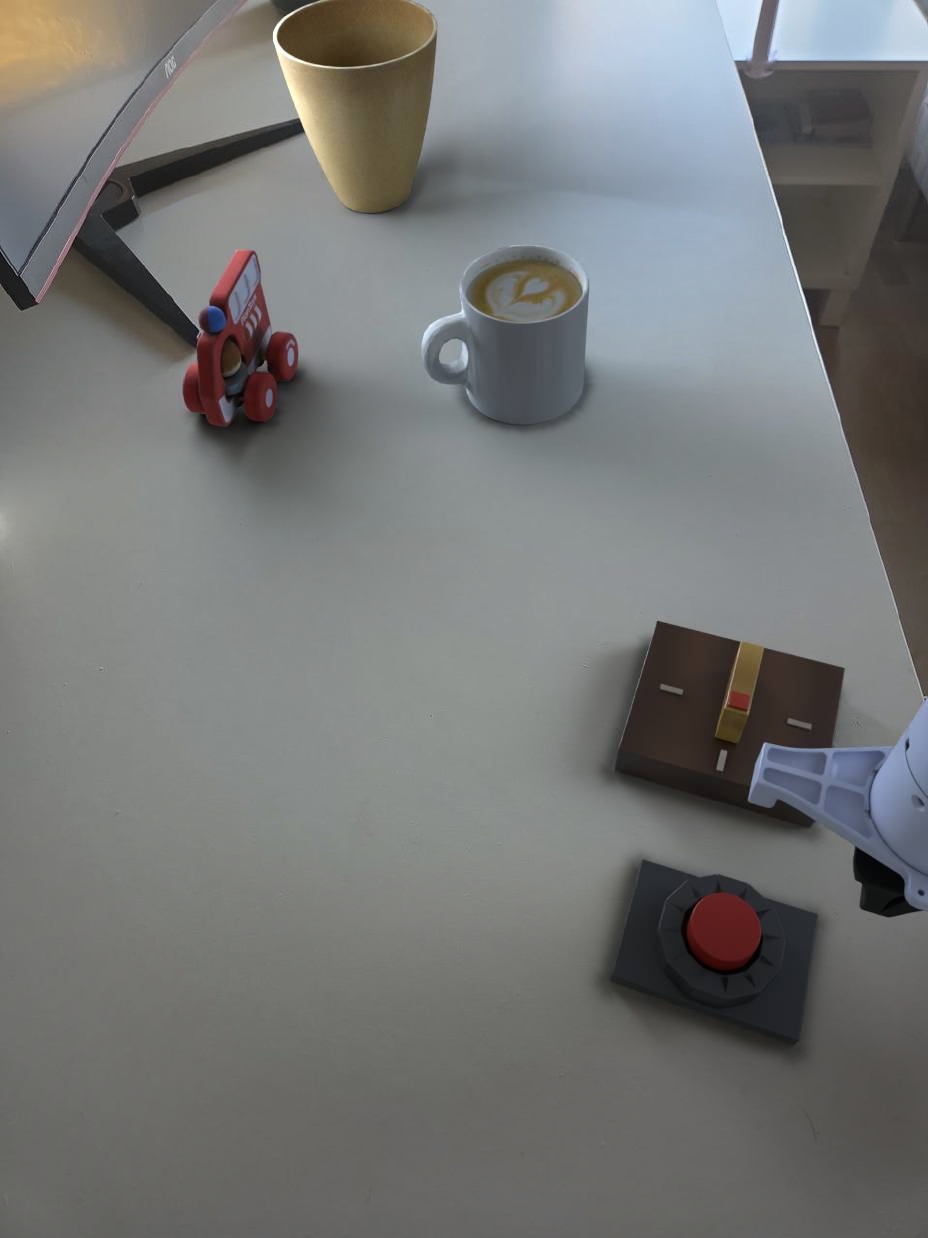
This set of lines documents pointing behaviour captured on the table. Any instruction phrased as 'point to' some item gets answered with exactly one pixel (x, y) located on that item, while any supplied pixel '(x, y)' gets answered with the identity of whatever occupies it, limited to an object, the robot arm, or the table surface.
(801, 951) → the dark grey button mount
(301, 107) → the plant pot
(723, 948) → the bell button
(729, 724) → the yellow rectangular block
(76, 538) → the table surface
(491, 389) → the coffee mug
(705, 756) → the plate
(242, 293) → the toy fire truck
